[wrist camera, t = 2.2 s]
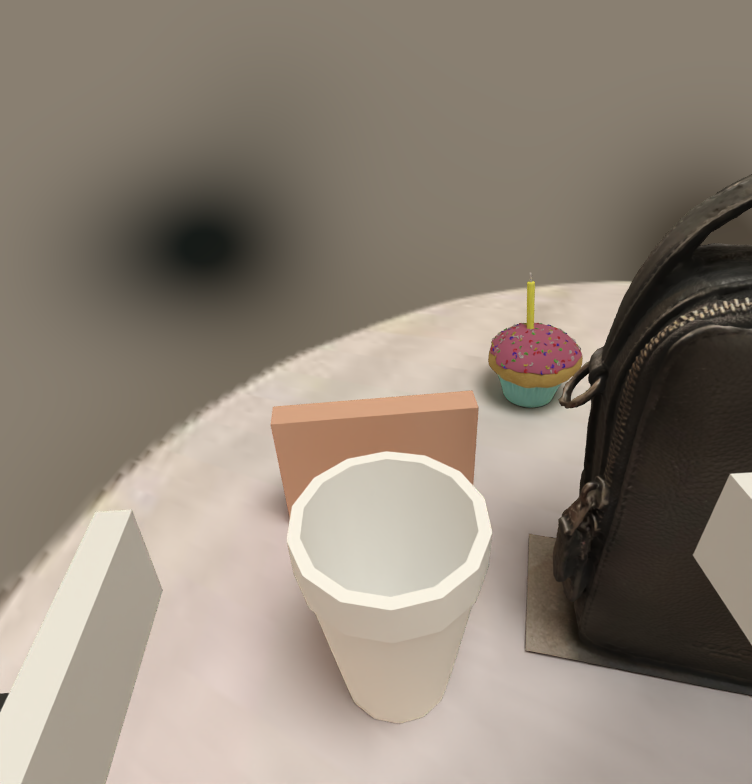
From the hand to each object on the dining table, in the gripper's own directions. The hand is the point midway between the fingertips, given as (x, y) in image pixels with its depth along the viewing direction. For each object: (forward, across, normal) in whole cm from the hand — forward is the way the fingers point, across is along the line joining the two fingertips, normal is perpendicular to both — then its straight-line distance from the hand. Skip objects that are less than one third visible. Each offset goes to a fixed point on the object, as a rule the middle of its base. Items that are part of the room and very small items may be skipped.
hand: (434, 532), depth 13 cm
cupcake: (+36, +16, -22) cm, 45 cm away
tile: (+23, 0, -23) cm, 32 cm away
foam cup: (+10, 0, -23) cm, 25 cm away
